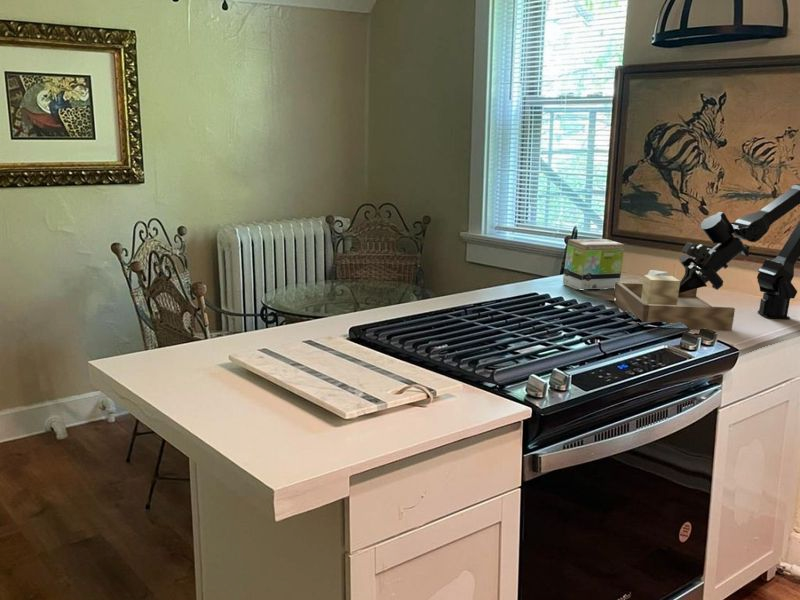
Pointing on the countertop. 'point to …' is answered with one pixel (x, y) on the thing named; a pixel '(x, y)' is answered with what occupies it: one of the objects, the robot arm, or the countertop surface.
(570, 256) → the tea box
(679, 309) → the trap box
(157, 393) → the countertop surface
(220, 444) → the countertop surface
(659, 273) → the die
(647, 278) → the maple block
